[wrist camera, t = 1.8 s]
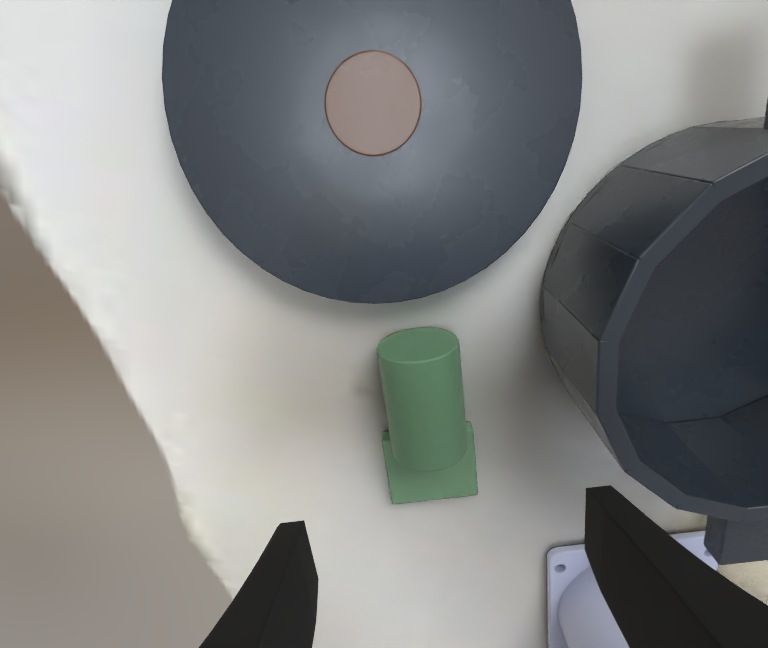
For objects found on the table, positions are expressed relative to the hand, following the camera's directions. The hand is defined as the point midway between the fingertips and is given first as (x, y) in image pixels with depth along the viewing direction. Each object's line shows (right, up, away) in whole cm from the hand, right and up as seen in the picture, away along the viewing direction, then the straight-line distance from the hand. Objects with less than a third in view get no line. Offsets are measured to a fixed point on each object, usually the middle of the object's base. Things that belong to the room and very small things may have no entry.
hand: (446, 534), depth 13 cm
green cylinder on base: (0, +2, +8) cm, 9 cm away
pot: (+11, +7, +7) cm, 14 cm away
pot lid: (-2, +12, +3) cm, 13 cm away
